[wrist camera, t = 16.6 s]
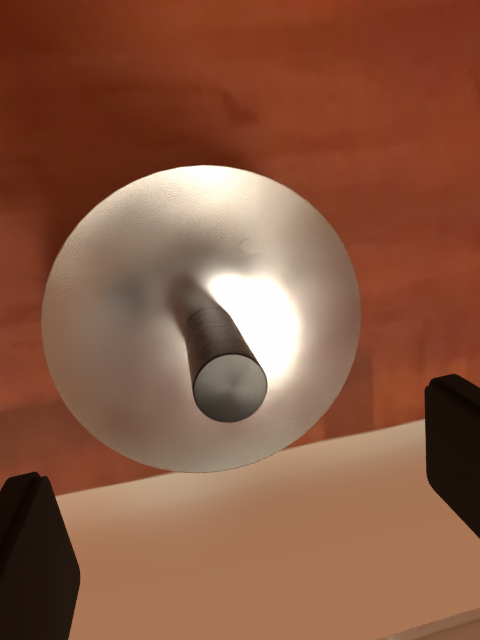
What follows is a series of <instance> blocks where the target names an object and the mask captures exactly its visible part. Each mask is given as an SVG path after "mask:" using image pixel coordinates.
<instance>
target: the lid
mask: <svg viewBox="0 0 480 640" xmlns="http://www.w3.org/2000/svg"><path fill="white" fill-rule="evenodd" d="M360 327H361V301H360V294H359V287H358V282H357V279H356V275H355V271H354V268H353V265H352V262H351V260H350V258H349V255H348V253H347V251H346V248H345V246H344V245H343V243H342V241H341V240H340V238H339V236H338V235H337V233H336V231H335V230H334V229H333V227H332V226H331V225H330V224H329V222H328V221H327V220H326V219H325V217H324V216H323V215H322V214H321V213H320V212H319V211H318V210H317V209H316V208H315V207H314V206H313V205H312V204H311V203H309V202H308V201H307V200H306V199H305V198H303V197H302V196H301V195H299V194H298V193H296V192H295V191H293V190H292V189H291V188H289V187H287V186H285V185H283V184H281V183H280V182H278V181H276V180H274V179H272V178H270V177H267V176H264V175H261V174H259V173H256V172H253V171H250V170H246V169H241V168H236V167H231V166H225V165H208V164H200V165H188V166H179V167H174V168H170V169H165V170H161V171H157V172H154V173H151V174H149V175H146V176H143V177H141V178H138V179H135V180H134V181H132V182H130V183H128V184H126V185H124V186H123V187H121V188H119V189H117V190H115V191H114V192H112V193H111V194H110V195H108V196H107V197H106V198H104V199H103V200H102V201H100V202H99V203H98V204H96V205H95V206H94V207H93V208H92V209H91V210H90V211H89V212H88V213H87V214H86V215H85V216H84V217H83V218H82V219H81V220H80V221H79V222H78V224H77V225H76V226H75V228H74V229H73V230H72V232H71V233H70V234H69V236H68V237H67V238H66V240H65V241H64V243H63V245H62V247H61V249H60V251H59V252H58V254H57V256H56V258H55V260H54V262H53V265H52V268H51V270H50V273H49V276H48V279H47V281H46V286H45V291H44V296H43V300H42V311H41V334H42V346H43V350H44V355H45V359H46V363H47V367H48V370H49V372H50V375H51V377H52V380H53V383H54V385H55V387H56V389H57V391H58V392H59V394H60V396H61V398H62V400H63V401H64V403H65V405H66V406H67V407H68V409H69V410H70V411H71V413H72V414H73V415H74V416H75V418H76V419H77V420H78V421H79V422H80V423H81V424H82V425H83V426H84V427H85V428H86V429H87V430H88V431H89V432H90V433H91V434H92V435H93V436H94V437H96V438H97V439H98V440H100V441H101V442H102V443H103V444H105V445H106V446H107V447H109V448H111V449H113V450H114V451H116V452H118V453H119V454H121V455H123V456H125V457H127V458H130V459H132V460H134V461H137V462H139V463H141V464H144V465H148V466H151V467H155V468H158V469H163V470H169V471H175V472H184V473H208V472H219V471H225V470H230V469H236V468H239V467H242V466H246V465H249V464H252V463H255V462H258V461H260V460H262V459H265V458H267V457H269V456H272V455H273V454H275V453H277V452H279V451H280V450H282V449H284V448H286V447H287V446H289V445H290V444H292V443H293V442H294V441H296V440H297V439H298V438H300V437H301V436H303V435H304V434H305V433H306V432H307V431H308V430H309V429H310V428H311V427H312V426H314V425H315V424H316V423H317V422H318V420H319V419H320V418H321V417H322V416H323V415H324V414H325V412H326V411H327V410H328V409H329V408H330V406H331V405H332V403H333V402H334V400H335V399H336V397H337V396H338V394H339V393H340V391H341V389H342V387H343V385H344V383H345V381H346V379H347V377H348V375H349V372H350V370H351V367H352V364H353V362H354V359H355V355H356V351H357V347H358V343H359V336H360Z"/></svg>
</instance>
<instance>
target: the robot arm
mask: <svg viewBox="0 0 480 640" xmlns="http://www.w3.org/2000/svg"><path fill="white" fill-rule="evenodd" d="M425 431H426V472H427V478H428V481H429V484H430V485H431V487H432V488H433V489H434V491H435V492H436V493H437V494H438V495H439V496H440V497H441V498H442V499H443V500H444V501H445V502H446V503H447V504H448V505H449V506H450V508H451V509H452V510H453V511H454V512H455V513H456V514H457V515H458V516H459V517H460V518H461V519H462V520H463V521H464V522H465V523H466V524H467V525H468V527H469V528H470V529H471V530H472V531H473V532H474V533H475V534H476V535H477V536H478V537H479V538H480V388H479V387H477V386H476V385H474V384H472V383H471V382H469V381H467V380H465V379H464V378H462V377H460V376H459V375H456V374H450V375H446V376H442V377H438V378H433V379H432V380H431V381H430V383H429V386H427V387H426V388H425ZM79 586H80V569H79V565H78V562H77V559H76V556H75V553H74V551H73V548H72V545H71V542H70V539H69V536H68V533H67V530H66V528H65V525H64V521H63V518H62V516H61V513H60V510H59V507H58V504H57V501H56V498H55V495H54V492H53V489H52V486H51V483H50V481H49V479H48V477H47V476H43V477H40V475H39V474H38V473H37V472H31V473H27V474H23V475H19V476H14V477H10V478H8V479H7V480H6V482H5V484H4V485H3V487H2V489H1V491H0V640H68V638H69V633H70V629H71V624H72V619H73V614H74V609H75V605H76V600H77V595H78V591H79ZM378 640H480V608H477V609H474V610H471V611H467V612H464V613H461V614H458V615H455V616H451V617H448V618H445V619H442V620H438V621H435V622H432V623H428V624H425V625H422V626H419V627H416V628H412V629H409V630H406V631H403V632H400V633H397V634H394V635H390V636H387V637H384V638H381V639H378Z"/></svg>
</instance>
